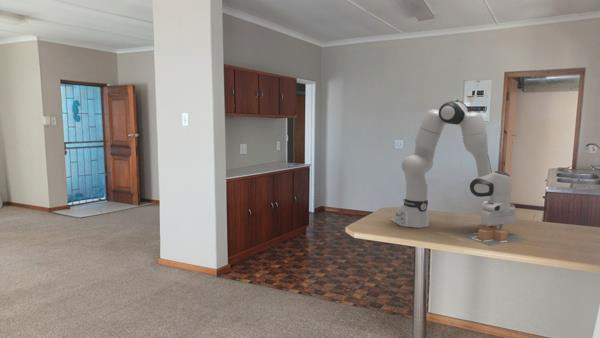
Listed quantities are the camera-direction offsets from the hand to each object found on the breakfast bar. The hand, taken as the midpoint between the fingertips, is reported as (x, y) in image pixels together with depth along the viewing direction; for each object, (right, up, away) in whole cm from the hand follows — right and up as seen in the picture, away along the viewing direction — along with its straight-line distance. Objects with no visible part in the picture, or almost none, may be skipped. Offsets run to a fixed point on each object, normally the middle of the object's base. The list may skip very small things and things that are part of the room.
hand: (498, 233), depth 198 cm
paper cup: (+4, -1, +19) cm, 19 cm away
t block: (-5, -2, -3) cm, 6 cm away
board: (-4, -3, -1) cm, 5 cm away
